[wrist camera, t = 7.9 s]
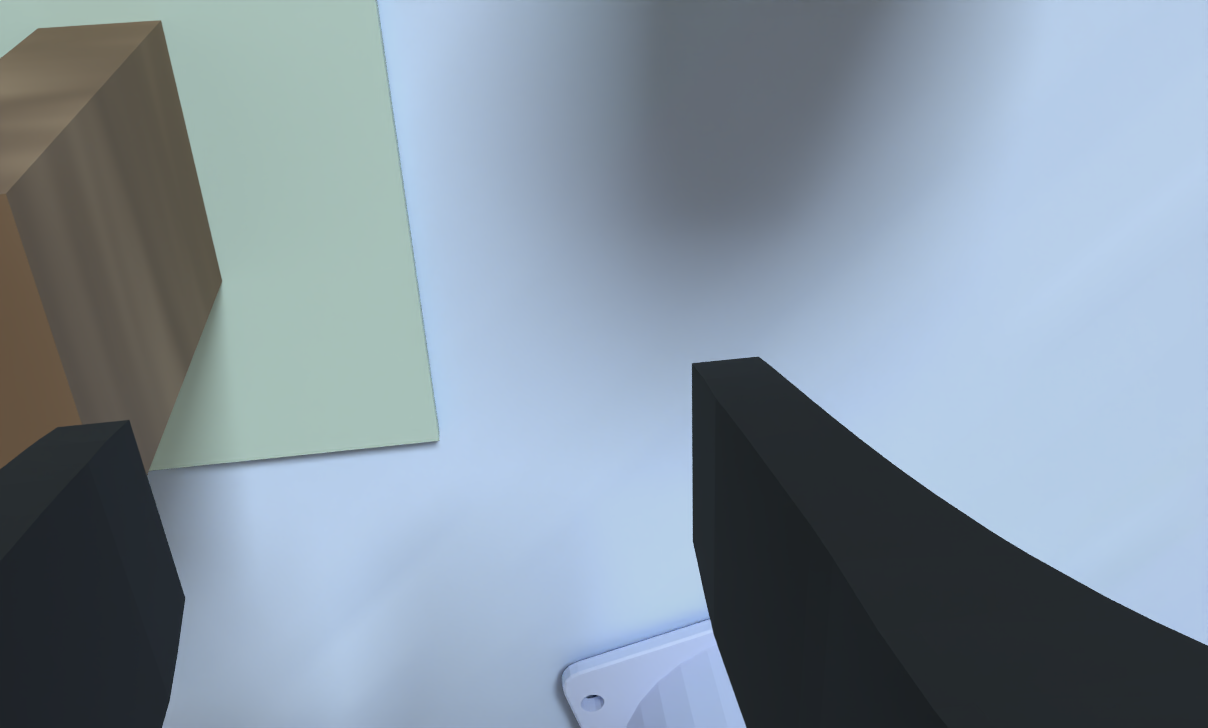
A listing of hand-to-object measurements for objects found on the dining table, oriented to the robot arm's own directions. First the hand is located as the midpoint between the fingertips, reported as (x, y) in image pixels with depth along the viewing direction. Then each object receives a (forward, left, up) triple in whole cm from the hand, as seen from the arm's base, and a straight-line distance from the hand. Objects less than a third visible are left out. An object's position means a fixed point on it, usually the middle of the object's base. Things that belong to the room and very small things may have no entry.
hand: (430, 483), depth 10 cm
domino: (+1, +5, -10) cm, 11 cm away
